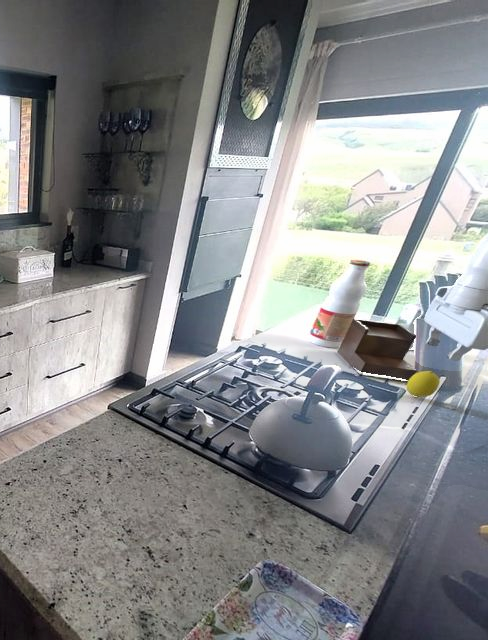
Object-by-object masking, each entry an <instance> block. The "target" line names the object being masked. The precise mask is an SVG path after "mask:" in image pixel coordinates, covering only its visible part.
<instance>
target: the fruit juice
mask: <svg viewBox="0 0 488 640" xmlns="http://www.w3.org/2000/svg"><path fill="white" fill-rule="evenodd" d="M370 265H371V262H370V261H367V260H361V259H351V260H349V263H348V268H347V269H346V271H345V272H344V273H343V274H342V275H341V276H340V277H339V278H338V279H336V280H334V281H333V282H332V283H331V285H330V287H329V292H328V295H327V296H326V297H325V298H324V300H323V301H322V303H321V306H320V308H319V311H318V313H317V316H316V318H315V320H314V322H313V324H312V327H311V329H310V332H309V334H308V337H307V341H309V342H310V343H312V344H314V345H317V346H320V347H325V348H333V349H334V348H339V347H340V345H341V343H342V341H343V339H344V337H345V335H346V333H347V331H348V329H349V326H350V324H351V322H352V320H353V319H355V317H356V315H357V313H358V311H359V308H360V305H361V303H360V301H361V300H362V298H363V297H364V296H365V295H366V294H367V290H368V286H367V284H366V281H365V275H366V271H367V269H369V267H370Z"/></svg>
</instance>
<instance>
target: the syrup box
mask: <svg viewBox="0 0 488 640" xmlns="http://www.w3.org/2000/svg"><path fill="white" fill-rule="evenodd" d="M420 304H421V303H406V304H405V305H404V307H403V309H402V312H401V313H400V315H399V317H398V318H397V321H396V322H395V324H400V325H402V326H403V327H405V328H406V329H408V330H409V331H411V332H412V333H414V324H413V322H414V320H415V319H416V318H417V317H419V316H420V315H421V306H420ZM413 343H414V341H413ZM413 343H412V345H411V346H410V348H409V349H411V348H412V347H413ZM411 351H412V350H409V352H411ZM412 352H413V351H412Z"/></svg>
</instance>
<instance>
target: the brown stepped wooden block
mask: <svg viewBox="0 0 488 640" xmlns="http://www.w3.org/2000/svg"><path fill="white" fill-rule="evenodd" d="M415 338H416V335H415V334H414V333H412V332H411V331H409V330H408V329H406V328H405V327H403V326H402V325H400V324H396V323H392V322H386V321H385V322H384V321H378V320H377V321H376V320H368V319H361V318H354V319H353V320H352V322H351V324H350V326H349V329H348V331H347V333H346V335H345V337H344V339H343V341H342V343H341V345H340V346H339V347H338V349H337V353H338V354H339V355H340V356H341V357H342V358H343V359H344V360H345V362H347V363H348V365H349V366H350V367H351V368H352V369H353V370H354V372H356V370H355V369H354V368H356V369H357V370H359V371H361V372H366V373H371V374H378V375H386V376H391V377H396V378H402V379H406V380H409V379H410V378H411V377H412V376H413V375H414V374H416V373H418V370H417V369H416V368H415V367H413V366H412V365H411V364H409V362H407V361H406V360H405V357H406V355H407V353H408V351H410V350H409V348H410V346H411V345H412V343H413V341H414V339H415ZM353 367H354V368H353ZM391 381H395V382H401V380H395V379H392V380H391ZM407 382H408V381H402V382H401V383H407Z"/></svg>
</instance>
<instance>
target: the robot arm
mask: <svg viewBox="0 0 488 640" xmlns="http://www.w3.org/2000/svg"><path fill="white" fill-rule="evenodd" d="M428 307H429V308H428V310H427V312H426V314H425V317H424V321H425V322H426V323H427V324H429V326H431V327H430V328H429V334H428V337H427V340H426V342H425V344H427V345H429V346H430V347H437V346H438V345H439V344H440V342H441V339H440V338H441V336H442V335H441V334H444V335H446V336H447V337H449V338H450V339H452V340H453V341H456V342H457V345H456V348H455V349H454V350H452V351H451V350H450V351H449V352H448V354H447V355H446V358H447V359H448V360H449V361H453V362H459V361H460V360H461V359H462V357H463V356H464V355H465V354H468V353H469V352H471V351H472V349H473V350H478V351H485V350H488V234H487V235H486V236H485V237H484V238H483V239H482V240H481V242H480V243H479V244H478V246H477V247H476V248H475V250H474V251H473V252H472V254H471V256H470V258H469V259H468V261H467V263H466V265H465V269H464V271H463V273H462V275H461V276H460V277H458V279H457V280H456V281H455V283H454V285H451V286H440V287H438V288H437V290H436V292H435V297H434V298H433V300H432V301H431V302H430V305H429V306H428Z"/></svg>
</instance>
